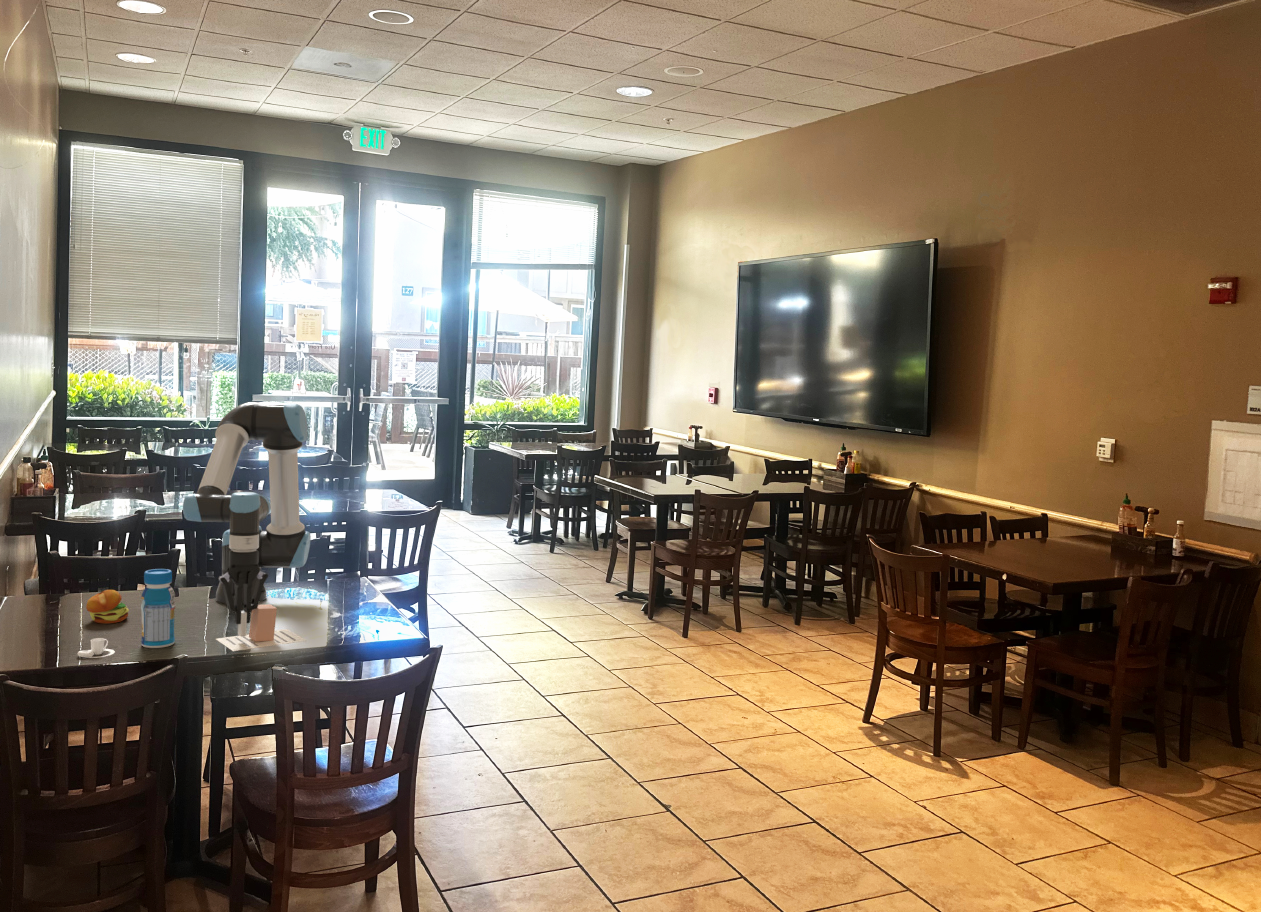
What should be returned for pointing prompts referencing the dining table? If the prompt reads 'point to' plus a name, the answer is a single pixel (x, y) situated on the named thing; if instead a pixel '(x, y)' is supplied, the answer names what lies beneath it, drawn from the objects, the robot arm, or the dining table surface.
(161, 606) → the beverage bottle
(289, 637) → the letter
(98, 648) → the teacup and saucer
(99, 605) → the cheeseburger
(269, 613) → the block
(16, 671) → the dining table surface
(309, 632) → the dining table surface
